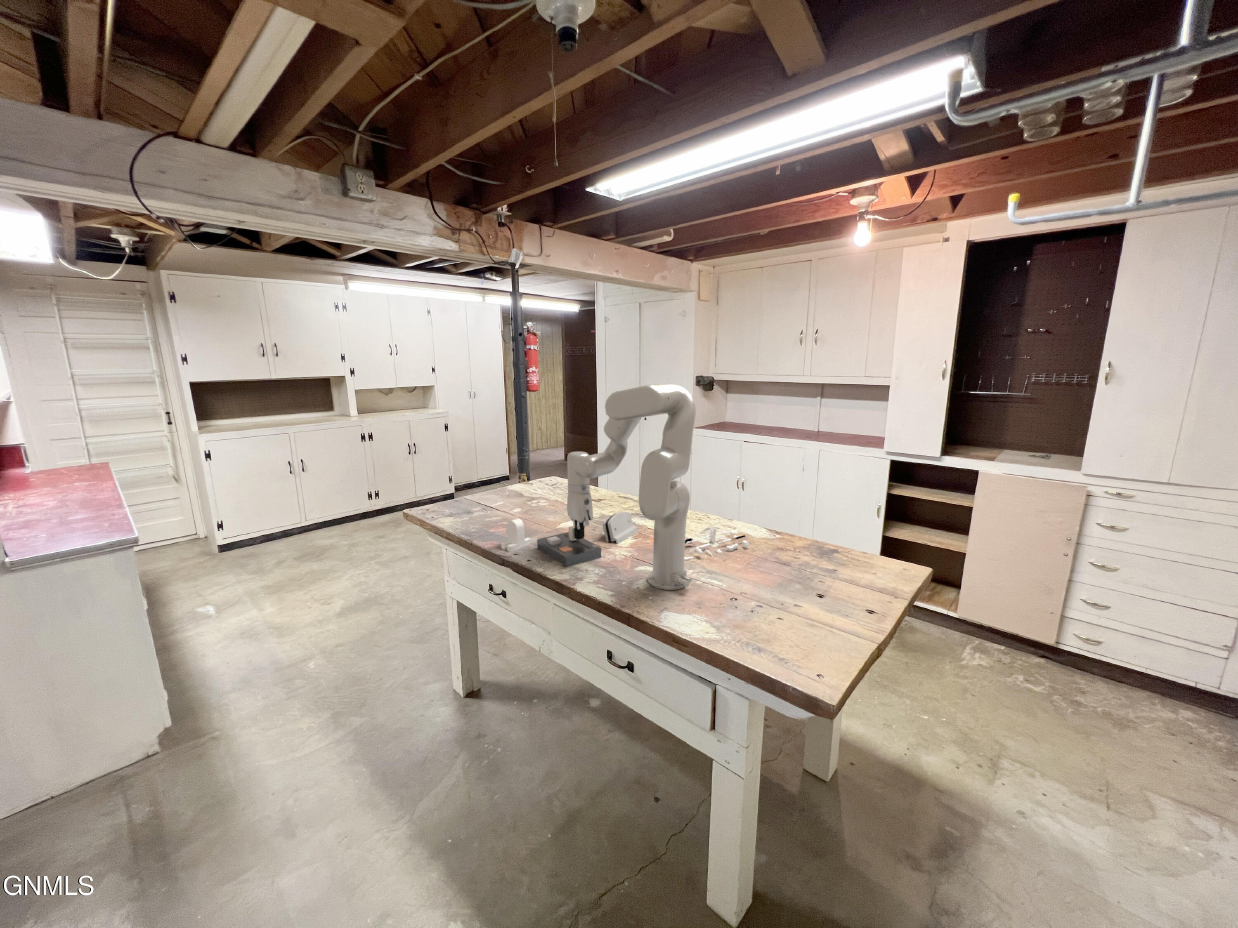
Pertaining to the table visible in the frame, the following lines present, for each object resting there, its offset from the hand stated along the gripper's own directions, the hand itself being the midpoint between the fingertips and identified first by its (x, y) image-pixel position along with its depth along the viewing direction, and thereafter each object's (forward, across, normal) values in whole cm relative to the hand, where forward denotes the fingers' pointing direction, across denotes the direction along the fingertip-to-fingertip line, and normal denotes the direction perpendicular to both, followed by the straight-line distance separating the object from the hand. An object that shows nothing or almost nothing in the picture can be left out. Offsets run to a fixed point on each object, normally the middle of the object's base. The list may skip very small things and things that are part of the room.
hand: (579, 538), depth 167 cm
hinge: (+6, +5, -22) cm, 23 cm away
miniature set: (+6, -25, -39) cm, 47 cm away
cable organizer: (+5, +19, +15) cm, 25 cm away
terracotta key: (+4, -2, +7) cm, 8 cm away
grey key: (+3, +6, +7) cm, 9 cm away
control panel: (+5, +2, +3) cm, 6 cm away
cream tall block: (+1, +3, 0) cm, 4 cm away
